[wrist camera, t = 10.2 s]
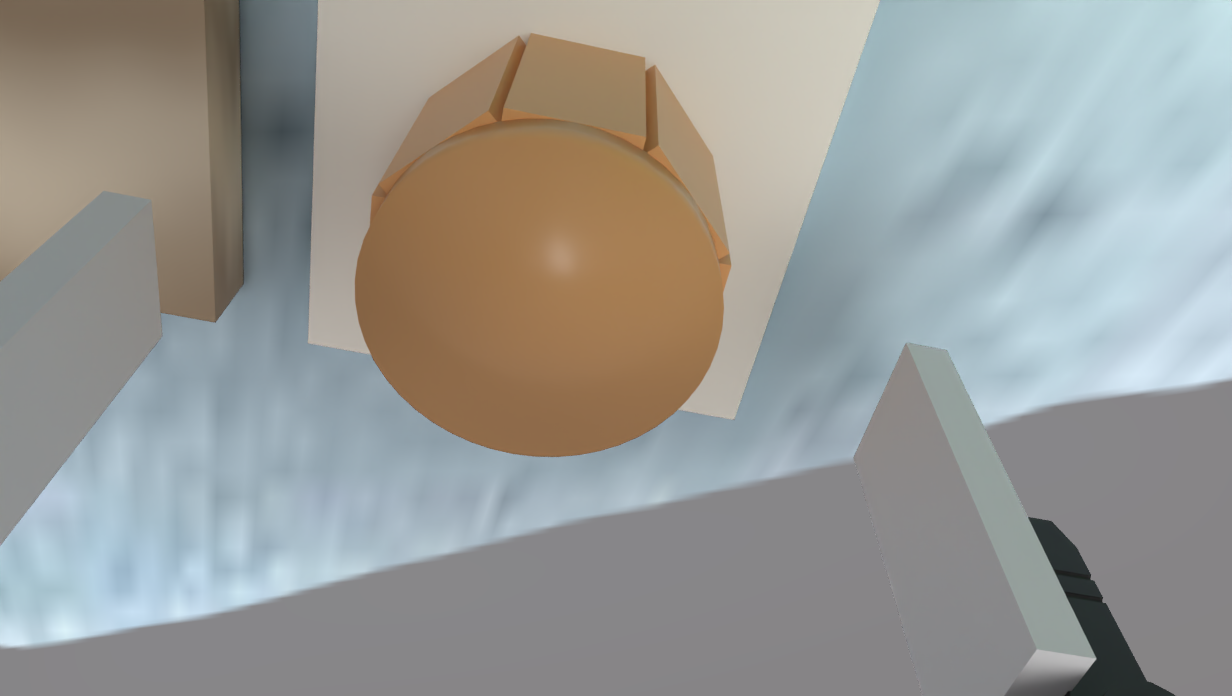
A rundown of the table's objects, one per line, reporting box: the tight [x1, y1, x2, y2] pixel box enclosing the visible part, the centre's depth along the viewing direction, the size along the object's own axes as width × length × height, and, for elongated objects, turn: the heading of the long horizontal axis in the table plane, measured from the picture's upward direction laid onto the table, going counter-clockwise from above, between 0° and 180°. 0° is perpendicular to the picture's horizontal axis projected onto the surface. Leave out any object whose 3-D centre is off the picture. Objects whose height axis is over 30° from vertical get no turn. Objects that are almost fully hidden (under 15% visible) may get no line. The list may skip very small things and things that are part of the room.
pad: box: [308, 0, 880, 420], centre depth 23 cm, size 12×12×1 cm
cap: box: [355, 33, 731, 457], centre depth 20 cm, size 7×7×6 cm
